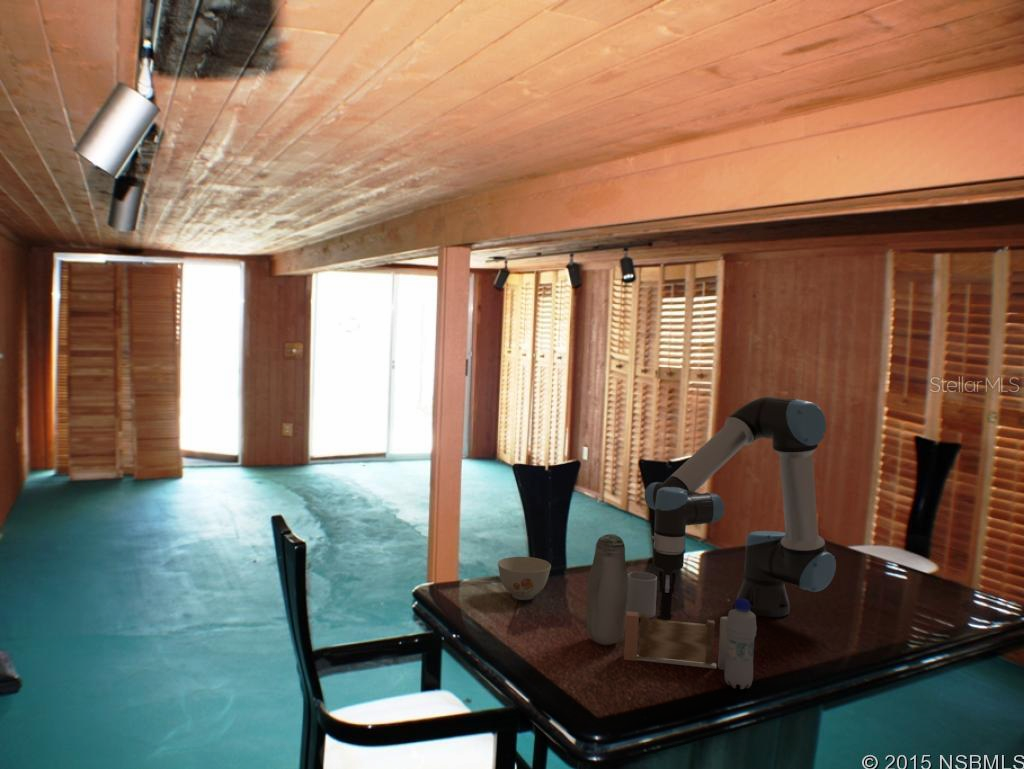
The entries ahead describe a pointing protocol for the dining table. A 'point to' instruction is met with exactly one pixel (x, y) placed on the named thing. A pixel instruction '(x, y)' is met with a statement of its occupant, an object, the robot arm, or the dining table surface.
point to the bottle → (740, 645)
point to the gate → (676, 640)
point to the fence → (631, 654)
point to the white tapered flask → (607, 591)
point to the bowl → (523, 576)
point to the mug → (642, 593)
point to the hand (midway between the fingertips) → (663, 643)
